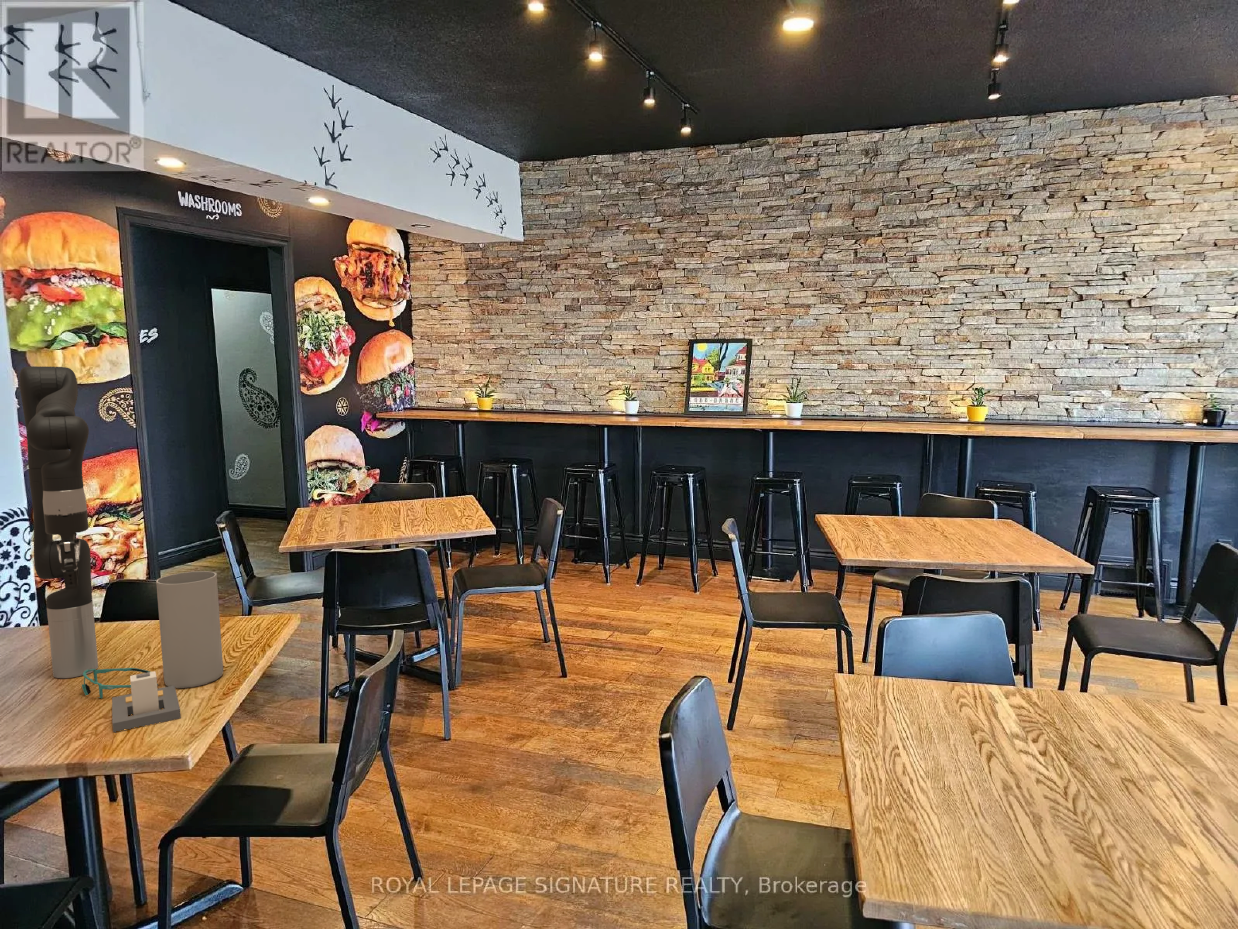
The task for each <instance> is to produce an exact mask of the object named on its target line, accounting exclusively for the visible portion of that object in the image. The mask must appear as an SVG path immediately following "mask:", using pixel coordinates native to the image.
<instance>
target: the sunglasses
mask: <svg viewBox="0 0 1238 929" xmlns="http://www.w3.org/2000/svg"><path fill="white" fill-rule="evenodd" d="M89 671H93V672H92V673H93V679H92V678H90V677H89V676H88V674H86V673H87V672H89ZM110 672H139V673H142V674H143V673H148V672H151V670H150V671H149V670H146V669H142V668H137V667H122V668H120V667H119V668H102V669H100V668H98V669H97V670H96V669H90V670H85V671H84V672H83V675H82V676H83V683H82V684H81V688H82V692H83V693H84V695H85V696H86V695H90V694H91V693H92V691H91V687H90V685H88V684H87V683H86V680H88V681H89V682H90V683H93V684H96V685H97V687H98V694H99V697H98V698H101V699H104V694H103V693H104V692H103V691H104V690H109V691H110V690H115V689H122V688H124V689H127V688H129V689H131V684H102V683H100V682H99V681H98V674H107V673H110ZM158 684H159V683H157V686H159V685H158Z"/></svg>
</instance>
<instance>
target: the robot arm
mask: <svg viewBox="0 0 1238 929" xmlns="http://www.w3.org/2000/svg"><path fill="white" fill-rule="evenodd" d="M18 381H19V382H18V383H19V389H20V390H19V392H20V398H21V404H22V410H23V417H24V424H25V429H26V441H27V442H26V444H27V463H28V466H27V467H28V478H29V479H28V480H29V486H30V487H29V488H30V496H31V504H32V514H33V563H34V570H35V573H36V575H37V576H38V578H39V579H42V580H54V579H64V588H61V589H58V590H56V591H53V592H52V593H49V595H47V596H46V598H45V605H46V616H47V621H48V622H47V624H48V634H49V643H50V647H49V648H50V656H51V667H52V676H53V677H54V678H56V679H70V678H77V677H81V676H83V672H84V671H85V670H90V669H97V668H98V669H99V659H98V648H97V638H96V637H97V635H96V627H95V626H96V625H95V623H96V622H95V614H94V603H93V591H92V590H93V587H92V585H93V584H92V566H91V564H92V562H91V559H92V558H91V549H90V545H89V543H88V541H86V539H84V538H77V535H78V534H79V533H83V532H86V531H87V530H89V516H88V507H87V497H86V494H85V490H84V479H83V459H84V458H83V457H84V455H85V449H86V446H87V443H88V439H89V434H90V432H89V430H90V429H89V425H88V423H87V422H86V420H84V418H82V417H81V416H76V412H75V408H76V404H77V401H78V394H79V393H78V391H79V390H78V388H79V387H78V380H77V376H76V374H75V372H74V371H73V370H72V368H70V367H67V366H66V367H65V366H37V365H36V366H35V365H34V366H33V365H32V366H24V367H22V368H21V370H20V372H19V380H18ZM77 533H78V534H77ZM57 535H59V536H60V539H58V540H57V539H55V540H54V539H53V537H54V536H57ZM98 669H97V670H98ZM91 673H93V671H89V672H87V673H86V675H88V674H91Z"/></svg>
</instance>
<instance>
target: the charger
mask: <svg viewBox="0 0 1238 929" xmlns="http://www.w3.org/2000/svg"><path fill="white" fill-rule="evenodd" d="M129 679H130V685H131V688H130V689H131V690H130V691H131V693H130V694H132V704H133V715H132V716H134V715H139V714H143V713H148V712H153V711H158V710H160V709H159V702H158V690H157V689H158V685H157V684H158V680H157V673H156V671H150V672H148V673H143V672H142V673H139V674H133V675H130V676H129Z"/></svg>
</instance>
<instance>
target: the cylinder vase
mask: <svg viewBox="0 0 1238 929" xmlns="http://www.w3.org/2000/svg"><path fill="white" fill-rule="evenodd" d="M217 577H218V576H217V572H214V571H208V570H206V571H205V570H200V571H199V570H196V571H185V572H179V573H178V572H177V573H175V574H174V573H173V574H169V575H166V576H162V577H159V578H157V579H156V582H155V583H156V584H155V585H156V596H157V597H156V598H157V608H158V619H159V621H158V622H159V633H160V648H161V660H162V669H163V670H162V672H163V681H164V684H165V685H166V687H168V686H173V685H175V689H189V688H197V687H201V686H204V685H208V684H210V683H212V682H215V681H217V680H218V679H220V678H221V677H222V675H223V674H224V661H223V646H222V632H221V620H220V618H221V617H220V616H221V615H220V607H219V606H220V603H219V602H220V601H219V590H218V578H217Z"/></svg>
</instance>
